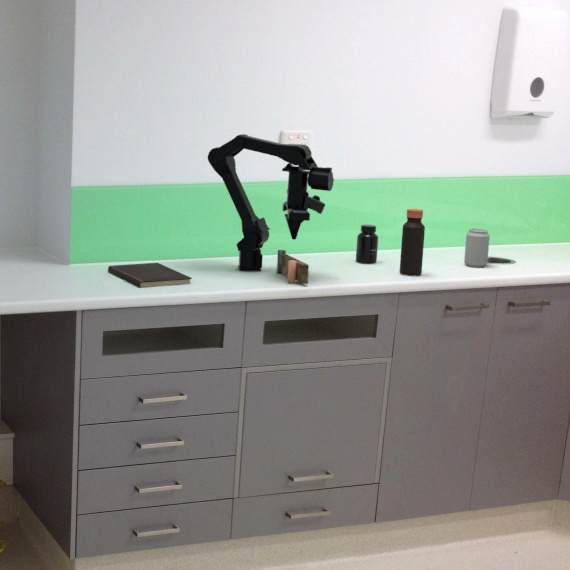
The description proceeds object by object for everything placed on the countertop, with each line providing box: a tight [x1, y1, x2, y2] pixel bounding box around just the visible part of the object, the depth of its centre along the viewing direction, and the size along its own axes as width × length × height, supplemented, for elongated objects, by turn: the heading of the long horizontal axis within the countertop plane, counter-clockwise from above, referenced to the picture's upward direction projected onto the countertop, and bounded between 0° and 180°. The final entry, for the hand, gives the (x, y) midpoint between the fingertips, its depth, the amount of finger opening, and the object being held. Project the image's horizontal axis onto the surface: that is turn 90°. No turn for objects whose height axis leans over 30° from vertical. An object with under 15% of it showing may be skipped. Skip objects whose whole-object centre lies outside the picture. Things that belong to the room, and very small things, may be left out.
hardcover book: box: [107, 262, 193, 288], centre depth 309 cm, size 16×23×2 cm
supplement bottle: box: [355, 224, 379, 265], centre depth 347 cm, size 7×7×12 cm
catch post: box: [287, 260, 297, 285], centre depth 310 cm, size 2×2×6 cm
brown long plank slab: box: [281, 253, 310, 285], centre depth 314 cm, size 16×2×6 cm, turn 23°
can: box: [463, 228, 491, 268], centre depth 349 cm, size 8×8×12 cm
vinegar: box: [399, 208, 426, 277], centre depth 330 cm, size 7×7×20 cm
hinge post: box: [276, 249, 287, 275], centre depth 323 cm, size 2×2×7 cm
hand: (293, 239), depth 321 cm, fingers closed
